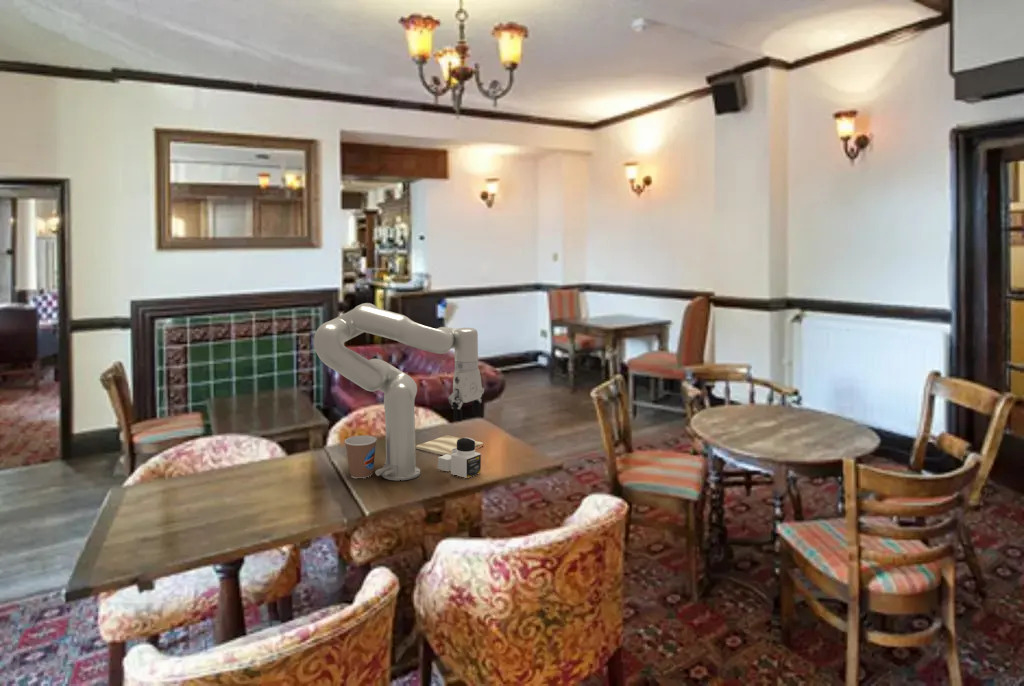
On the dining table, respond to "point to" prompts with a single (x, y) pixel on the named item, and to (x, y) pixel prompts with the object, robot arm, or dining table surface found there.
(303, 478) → the dining table surface
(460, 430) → the dining table surface
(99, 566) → the dining table surface
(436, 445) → the birch board
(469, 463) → the medicine bottle
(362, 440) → the coffee cup
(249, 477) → the dining table surface
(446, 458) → the white cube
